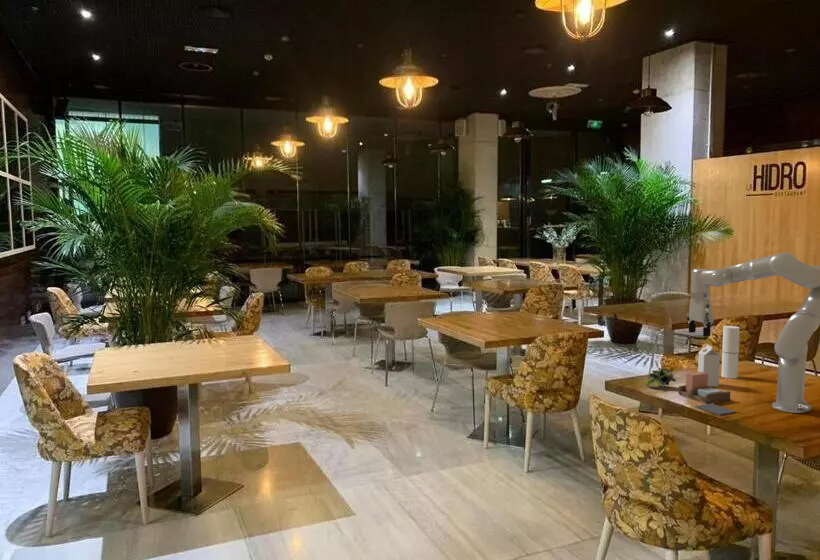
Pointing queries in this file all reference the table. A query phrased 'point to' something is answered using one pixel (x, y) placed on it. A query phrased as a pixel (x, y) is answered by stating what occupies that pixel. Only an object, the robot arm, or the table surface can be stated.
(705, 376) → the pink rectangular block
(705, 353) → the milk carton
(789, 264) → the robot arm
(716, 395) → the rack
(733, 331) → the cylindrical container
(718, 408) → the slate mat
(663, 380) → the passion flower
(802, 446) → the table surface
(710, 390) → the offcut upper
